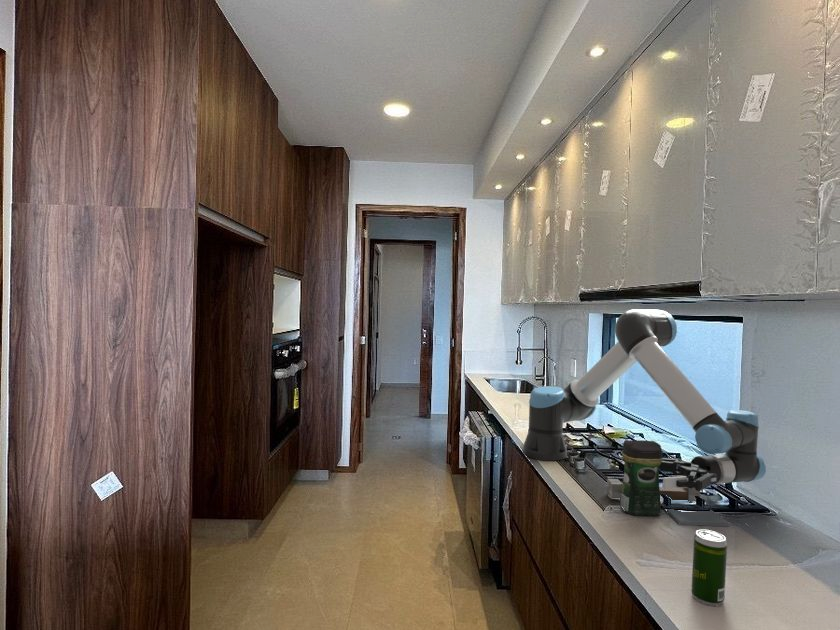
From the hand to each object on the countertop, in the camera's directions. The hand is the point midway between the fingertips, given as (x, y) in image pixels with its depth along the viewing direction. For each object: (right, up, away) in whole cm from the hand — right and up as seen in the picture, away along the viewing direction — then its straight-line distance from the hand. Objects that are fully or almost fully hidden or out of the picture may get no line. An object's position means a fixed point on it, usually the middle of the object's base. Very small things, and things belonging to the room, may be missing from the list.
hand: (645, 474), depth 140 cm
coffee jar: (-1, -10, +1) cm, 10 cm away
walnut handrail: (+6, -10, +9) cm, 15 cm away
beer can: (-5, -11, -40) cm, 42 cm away
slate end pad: (+12, -10, -1) cm, 16 cm away
